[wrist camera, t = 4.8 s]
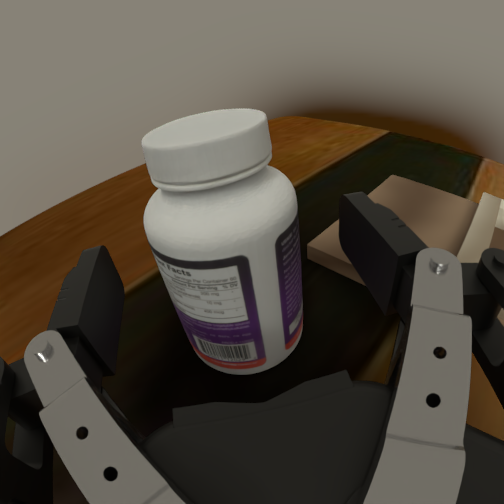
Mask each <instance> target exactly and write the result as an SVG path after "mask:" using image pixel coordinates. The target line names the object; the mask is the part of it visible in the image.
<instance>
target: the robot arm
mask: <svg viewBox="0 0 504 504" xmlns="http://www.w3.org/2000/svg"><path fill="white" fill-rule="evenodd" d="M339 241H340V245H341V248H342V250H343V252H344V253H345V255H346V256H347V258H348V259H349V261H350V262H351V264H352V265H353V267H354V268H355V270H356V271H357V273H358V274H359V276H360V277H361V279H362V280H363V282H364V283H365V285H366V286H367V288H368V290H369V291H370V293H371V294H372V296H373V297H374V299H375V300H376V302H377V304H378V305H379V307H380V308H381V310H382V312H383V313H384V315H385V316H388V315H391V314H394V313H397V312H398V313H399V315H400V316H401V318H400V321H399V325H398V330H397V335H396V340H395V344H394V349H393V353H392V358H391V362H390V366H389V370H388V373H387V376H386V379H385V382H384V384H382V383H378V382H372V381H351V379H350V377H349V374H348V372H347V370H344V371H340V372H337V373H334V374H331V375H327V376H324V377H320V378H317V379H313V380H310V381H306V382H304V383H302V384H300V385H298V386H296V387H294V388H292V389H290V390H288V391H286V392H284V393H282V394H280V395H278V396H276V397H274V398H272V399H270V400H268V401H266V402H263V403H227V402H212V403H206V404H200V405H194V406H187V407H180V408H173V421H172V422H169V423H167V424H165V425H163V426H161V427H160V428H158V429H157V430H155V431H154V432H152V433H151V434H150V435H148V436H147V437H146V438H145V437H144V436H143V435H142V434H141V433H140V432H139V431H138V429H137V428H136V427H135V426H134V425H133V424H132V423H131V421H130V420H129V419H128V418H127V417H126V415H125V414H124V413H123V412H122V410H121V409H120V408H119V407H118V405H117V404H116V403H115V401H114V400H113V399H112V398H111V396H110V395H109V394H108V392H107V391H106V390H105V388H104V387H103V386H102V385H101V384H102V377H104V376H113V375H115V370H116V360H117V350H118V341H119V333H120V325H121V318H122V311H123V304H124V297H125V294H124V287H123V283H122V280H121V278H120V276H119V274H118V272H117V270H116V267H115V265H114V263H113V261H112V259H111V257H110V254H109V252H108V250H107V248H106V247H105V246H103V245H102V246H98V247H94V248H90V249H86V250H83V251H82V253H81V256H80V259H79V261H78V264H77V267H73V269H72V270H71V271H70V272H69V274H68V275H67V276H66V277H65V279H64V282H63V284H62V287H61V292H59V295H58V298H57V299H58V301H56V304H55V307H54V310H53V313H52V316H51V319H50V322H49V325H48V328H47V331H45V332H42V333H40V334H38V335H37V336H36V337H34V338H33V339H32V340H31V342H30V343H29V344H28V346H27V348H26V350H25V354H24V358H22V359H20V360H18V361H16V362H14V363H11V364H9V365H8V364H7V363H6V362H5V361H4V360H3V359H2V358H1V357H0V504H53V444H54V446H55V448H56V450H57V452H58V454H59V455H60V457H61V459H62V461H63V462H64V464H65V466H66V467H67V469H68V471H69V472H70V474H71V476H72V477H73V479H74V481H75V482H76V484H77V485H78V487H79V488H80V490H81V491H82V493H83V494H84V496H85V497H86V499H87V500H88V502H89V503H90V504H504V441H502V440H500V439H498V438H496V437H494V436H492V435H489V434H487V433H485V432H483V431H481V430H479V429H476V428H474V427H472V426H470V425H468V424H466V417H467V409H468V399H469V389H470V375H471V354H472V352H473V354H474V356H475V357H476V359H477V361H478V363H479V364H480V366H481V368H482V370H483V371H484V373H485V375H486V377H487V378H488V380H489V382H490V384H491V386H492V388H493V389H494V391H495V393H496V395H497V397H498V399H499V401H500V403H501V405H502V407H503V409H504V326H503V325H502V323H501V322H500V321H499V319H498V318H497V316H498V314H499V313H500V311H501V309H502V308H503V310H504V250H501V249H498V248H488V249H485V250H484V251H483V252H482V254H481V257H480V260H479V263H460V261H459V260H458V259H457V257H456V256H454V255H453V254H452V253H450V252H448V251H446V250H444V249H440V248H429V247H428V246H427V245H426V244H425V243H424V242H423V241H422V240H421V239H420V238H419V237H418V236H417V235H416V234H415V233H414V232H413V231H412V230H411V229H410V228H409V227H408V226H406V224H405V223H404V222H403V221H402V220H401V219H399V217H398V216H397V215H396V214H395V213H394V212H393V211H392V210H391V209H389V208H387V207H385V206H383V205H381V204H379V203H376V204H375V203H374V202H373V201H372V200H371V199H370V198H369V197H368V196H367V195H366V194H365V193H364V192H357V193H351V194H345V195H342V196H341V197H340V201H339ZM7 417H10V418H11V419H12V420H13V421H15V422H16V427H15V435H14V444H13V454H12V455H11V454H10V453H9V452H8V450H7V448H6V446H5V440H4V439H5V431H6V423H7Z"/></svg>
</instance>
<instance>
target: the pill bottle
mask: <svg viewBox="0 0 504 504" xmlns="http://www.w3.org/2000/svg"><path fill="white" fill-rule="evenodd" d="M142 148H143V152H144V157H145V161H146V165H147V168H148V172H149V174H150V176H151V181H152V183H153V184H154V185H155V186H156V187H158V188H159V189H158V190H157V191H156V192H155V193H154V194H153V195H152V197H151V198H150V200H149V202H148V204H147V206H146V208H145V213H144V228H145V232H146V235H147V239H148V242H149V244H150V247H151V250H152V252H153V254H154V257H155V260H156V262H157V265H158V267H159V270H160V272H161V275H162V277H163V280H164V282H165V285H166V287H167V289H168V292H169V294H170V297H171V299H172V302H173V304H174V307H175V309H176V311H177V314H178V316H179V318H180V321H181V323H182V325H183V327H184V330H185V332H186V334H187V336H188V339H189V341H190V343H191V345H192V346H193V348H194V350H195V352H196V353H197V355H198V356H199V357H200V358H201V359H202V360H203V361H204V362H205V363H206V364H207V365H209V366H211V367H212V368H214V369H216V370H219V371H221V372H225V373H229V374H236V375H247V374H254V373H258V372H262V371H265V370H267V369H270V368H272V367H274V366H276V365H277V364H279V363H280V362H282V361H283V360H284V359H286V358H287V357H288V356H289V355H290V354H291V352H292V351H293V350H294V349H295V347H296V346H297V344H298V342H299V340H300V337H301V334H302V329H303V299H302V278H301V255H300V236H299V220H298V207H297V199H296V193H295V190H294V187H293V185H292V183H291V182H290V181H289V179H288V178H287V177H286V176H285V175H284V174H283V173H282V172H280V171H279V170H277V169H275V168H273V167H271V166H269V165H267V164H268V163H269V162H270V160H271V157H272V153H271V149H272V145H271V140H270V135H269V129H268V122H267V117H266V115H265V113H264V112H262V111H259V110H254V109H224V110H215V111H210V112H204V113H200V114H196V115H191V116H187V117H184V118H180V119H177V120H174V121H172V122H169V123H167V124H164V125H163V126H160V127H158V128H156V129H154V130H152V131H151V132H149V133H148V134H146V135H145V136H144V138H143V139H142Z"/></svg>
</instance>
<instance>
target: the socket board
mask: <svg viewBox="0 0 504 504" xmlns="http://www.w3.org/2000/svg"><path fill="white" fill-rule="evenodd" d="M367 196H368V197H369V198H370V199H371V200H372V201H373V202H374V203H375V204H376V203H379V204H381V205H383V206H385V207H387V208H389V209H391V210H392V211H393V212H394V213H395V214H396V215H397V216H398V217H399V219H401V220H402V221H403V222H404V223H405V224H406V226H408V227H409V228H410V229H411V230H412V231H413V232H414V233H415V234H416V235H417V236H418V237H419V238H420V239H421V240H422V241H423V242H424V243H425V244H426V245H427V246H428V247H429V248H440V249H444V250H446V251H448V252H450V253H452V254H453V255H454V256H456V257H457V259H458V260H459V261H460V263H479V260H480V257H481V254H482V252H483V251H484V250H485V249H488V248H498V249H501V250H504V200H503V199H500V198H498V197H495V196H493V195H490V194H487V193H485V192H483V195H482V198H481V201H480V203H479V204H478V203H475V202H472V201H470V200H467V199H464V198H462V197H459V196H456V195H453V194H450V193H448V192H445V191H442V190H439V189H436V188H433V187H430V186H427V185H424V184H421V183H418V182H415V181H411V180H408V179H405V178H402V177H399V176H395V175H391V176H390V177H389V178H388V179H387V180H385V181H384V182H383V183H382V184H381V185H379V186H378V187H377V188H376V189H375V190H373V191H372V192H371V193H370V194H369V195H367ZM307 259H310V260H312V261H314V262H316V263H318V264H320V265H322V266H325V267H327V268H329V269H331V270H333V271H335V272H337V273H339V274H342V275H344V276H346V277H348V278H350V279H352V280H354V281H356V282H359V283H361V284H363V285H365V283H364V282H363V280H362V279H361V277H360V276H359V274H358V273H357V271H356V270H355V268H354V267H353V265H352V264H351V262H350V261H349V259H348V258H347V256H346V255H345V253H344V252H343V250H342V248H341V245H340V241H339V219H338V220H337V221H336V222H335V223H333V224H332V225H331V226H330V227H328V228H327V229H326V230H325V231H324V232H322V233H321V234H320V235H319V236H317V237H316V238H315V239H314V240H312V241H311V242H310V243H309V244H307ZM365 286H366V285H365ZM497 318H498V319H499V321H500V322H501V323H502V325H503V326H504V310H503V308H502V309H501V311H500V313H499V314H498V316H497Z"/></svg>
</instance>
